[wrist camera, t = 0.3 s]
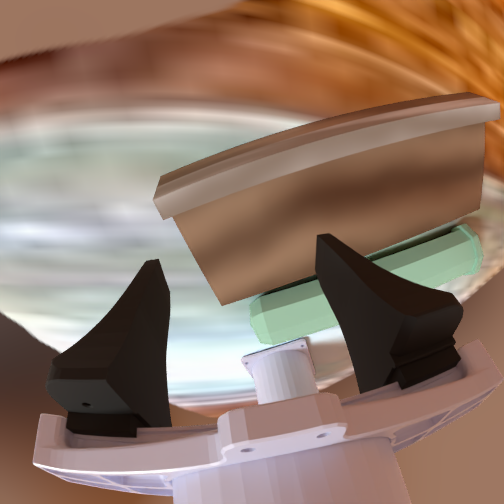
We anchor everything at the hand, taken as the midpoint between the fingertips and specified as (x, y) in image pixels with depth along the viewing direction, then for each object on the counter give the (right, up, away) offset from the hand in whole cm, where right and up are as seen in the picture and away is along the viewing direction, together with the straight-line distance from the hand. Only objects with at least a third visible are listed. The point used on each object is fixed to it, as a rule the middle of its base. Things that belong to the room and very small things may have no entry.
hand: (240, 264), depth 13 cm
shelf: (+9, +6, +10) cm, 14 cm away
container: (+12, -1, +16) cm, 20 cm away
